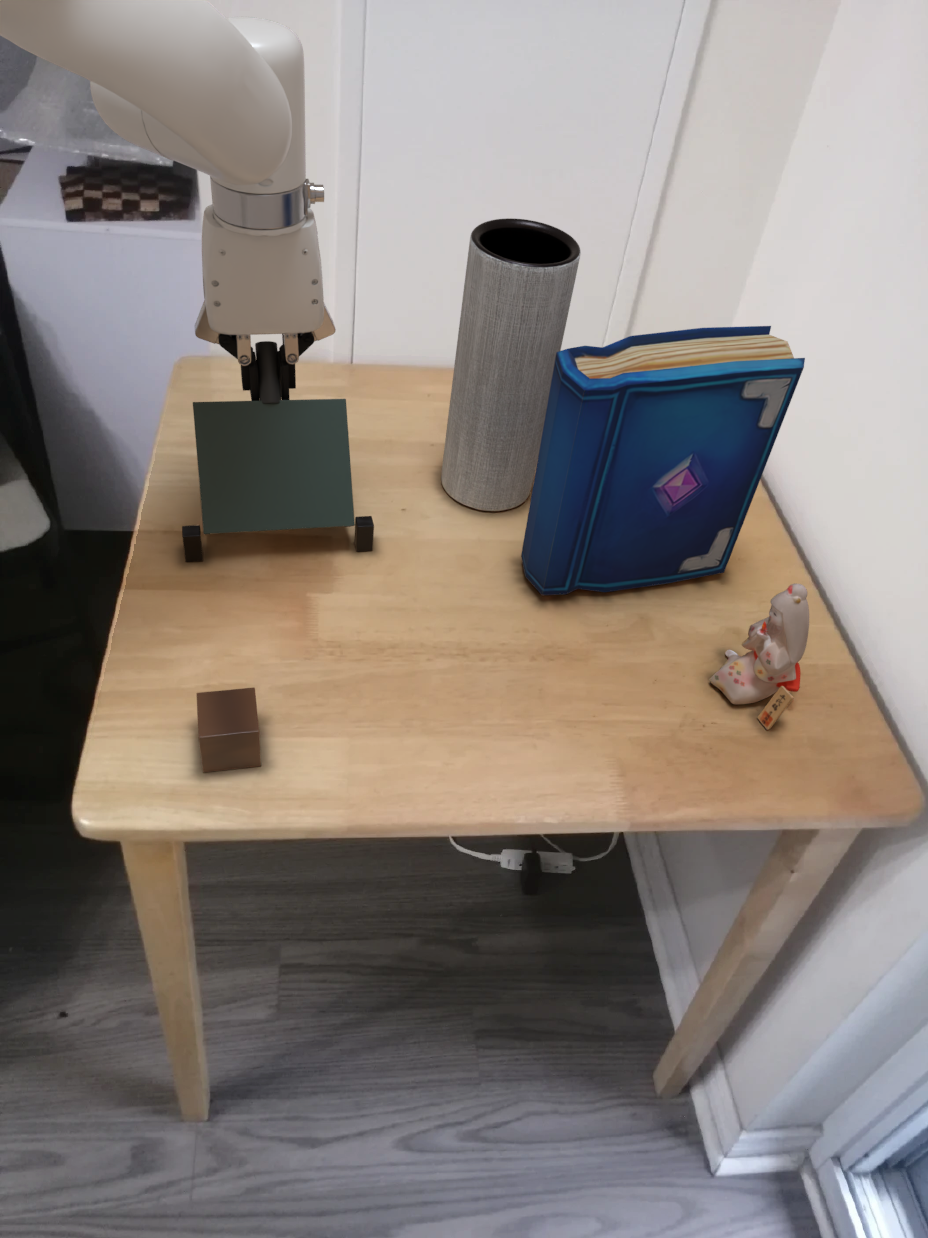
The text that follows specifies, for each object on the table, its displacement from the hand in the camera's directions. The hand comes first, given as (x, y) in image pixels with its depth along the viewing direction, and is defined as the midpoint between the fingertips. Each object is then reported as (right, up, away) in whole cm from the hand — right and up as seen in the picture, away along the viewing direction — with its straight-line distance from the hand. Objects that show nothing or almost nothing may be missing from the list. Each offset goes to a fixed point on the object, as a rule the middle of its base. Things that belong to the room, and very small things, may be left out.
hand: (269, 393), depth 89 cm
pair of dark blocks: (+1, -15, +2) cm, 15 cm away
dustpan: (0, -4, +1) cm, 5 cm away
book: (+34, -17, +6) cm, 38 cm away
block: (0, -32, -15) cm, 35 cm away
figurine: (+45, -28, -4) cm, 53 cm away
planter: (+21, -7, +14) cm, 26 cm away
